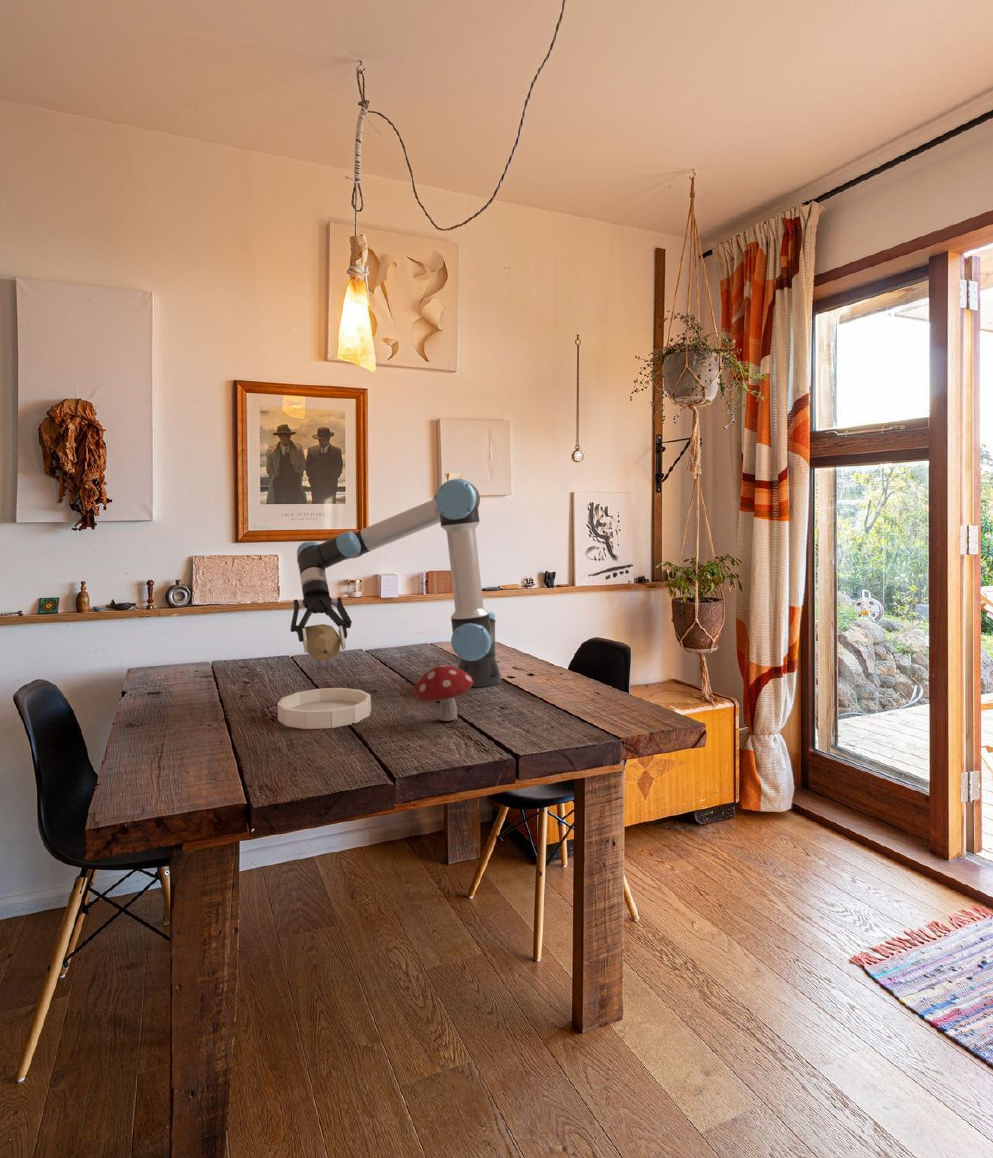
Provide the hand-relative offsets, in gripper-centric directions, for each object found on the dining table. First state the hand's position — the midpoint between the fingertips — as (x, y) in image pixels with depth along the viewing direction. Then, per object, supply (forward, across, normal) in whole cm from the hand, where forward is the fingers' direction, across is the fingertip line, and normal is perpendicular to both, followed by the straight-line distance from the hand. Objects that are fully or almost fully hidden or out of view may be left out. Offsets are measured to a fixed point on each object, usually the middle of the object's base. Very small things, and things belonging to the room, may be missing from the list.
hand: (325, 648), depth 193 cm
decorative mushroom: (+30, -26, +6) cm, 40 cm away
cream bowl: (+16, +1, -8) cm, 18 cm away
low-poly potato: (+1, +1, -5) cm, 5 cm away
